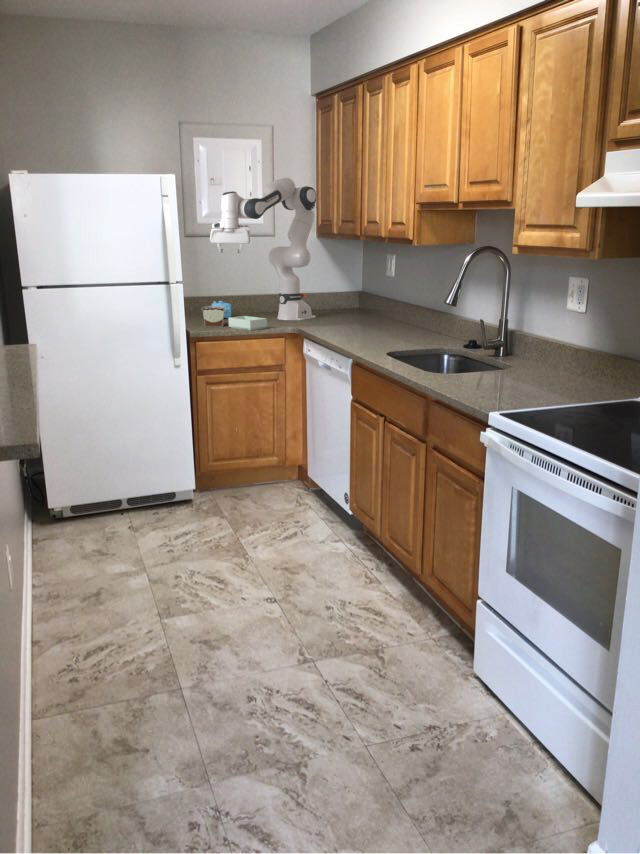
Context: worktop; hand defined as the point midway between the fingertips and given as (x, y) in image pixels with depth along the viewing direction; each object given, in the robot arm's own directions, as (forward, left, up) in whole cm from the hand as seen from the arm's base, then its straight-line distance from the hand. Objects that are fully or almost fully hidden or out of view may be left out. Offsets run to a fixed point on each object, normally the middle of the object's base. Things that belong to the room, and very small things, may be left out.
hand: (230, 252), depth 391 cm
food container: (+8, -4, -37) cm, 38 cm away
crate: (+2, +15, -37) cm, 40 cm away
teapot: (-11, -24, -37) cm, 46 cm away
